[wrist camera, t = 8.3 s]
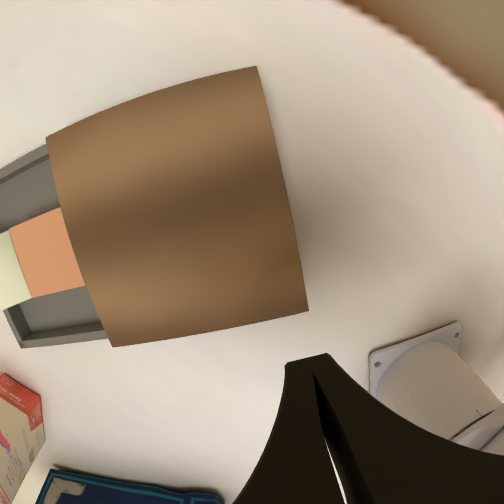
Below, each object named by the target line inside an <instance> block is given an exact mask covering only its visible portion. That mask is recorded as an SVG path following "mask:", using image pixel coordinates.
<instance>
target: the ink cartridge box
mask: <svg viewBox="0 0 504 504" xmlns="http://www.w3.org/2000/svg"><path fill="white" fill-rule="evenodd" d="M44 442H45V437H44V429H43V421H42V410H41V400H40V396H38V395H37V394H35V393H33V392H32V391H30V390H28V389H27V388H25V387H24V386H22V385H21V384H19V383H17V382H16V381H14V380H13V379H11V378H10V377H8V376H7V375H6V374H3V375H2V376H1V377H0V504H12V502H13V500H14V498H15V496H16V494H17V492H18V490H19V488H20V486H21V484H22V482H23V480H24V478H25V476H26V474H27V472H28V470H29V469H30V467H31V465H32V463H33V461H34V460H35V458H36V456H37V454H38V453H39V451H40V449H41V447H42V446H43V444H44Z"/></svg>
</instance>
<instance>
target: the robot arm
mask: <svg viewBox="0 0 504 504" xmlns="http://www.w3.org/2000/svg"><path fill="white" fill-rule="evenodd" d="M461 333H462V324H461V323H460V322H455V323H452V324H450V325H447V326H445V327H442V328H440V329H437V330H435V331H432V332H429V333H427V334H424V335H421V336H419V337H416V338H413V339H410V340H407V341H404V342H402V343H399V344H396V345H393V346H390V347H387V348H383V349H380V350H377V351H375V352H373V353H372V354H371V355H370V357H369V372H370V393H368V392H367V391H366V390H365V389H364V388H363V387H361V386H360V385H359V384H358V383H357V382H356V381H355V380H353V379H352V378H351V377H350V376H349V375H348V374H347V373H346V372H345V371H344V370H343V369H342V368H341V367H340V366H339V365H338V364H337V362H336V361H335V360H334V359H333V358H332V357H331V355H329V354H328V353H324V354H321V355H317V356H313V357H308V358H304V359H300V360H296V361H291V362H287V364H286V365H285V379H284V387H283V393H282V397H281V401H280V405H279V410H278V413H277V417H276V420H275V423H274V425H273V428H272V431H271V434H270V437H269V439H268V442H267V444H266V447H265V449H264V451H263V453H262V455H261V457H260V460H259V462H258V464H257V465H256V467H255V469H254V471H253V473H252V474H251V476H250V478H249V480H248V481H247V483H246V485H245V486H244V488H243V489H242V491H241V493H240V494H239V495H238V497H237V498H236V500H235V501H234V502H233V504H345V503H344V500H343V497H342V493H341V490H340V487H339V484H338V481H337V478H336V474H335V471H334V468H333V465H332V462H331V458H330V455H329V452H328V449H329V451H330V454H331V457H332V459H333V462H334V465H335V467H336V470H337V473H338V475H339V478H340V480H341V483H342V486H343V490H344V493H345V497H346V501H347V504H504V403H501V402H500V400H499V399H498V398H497V397H496V396H495V395H494V394H493V392H492V391H491V390H490V389H489V388H488V387H487V386H486V385H485V383H484V382H483V381H482V380H481V379H480V378H479V377H478V376H477V375H476V374H475V373H474V371H473V370H472V369H471V368H470V367H469V366H468V365H467V364H466V363H465V362H464V361H463V360H462V359H461V358H460V357H459V355H458V353H459V347H460V340H461ZM376 362H378V363H377V364H375V363H376ZM325 441H326V442H325ZM326 444H327V445H326ZM327 446H328V448H327Z"/></svg>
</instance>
